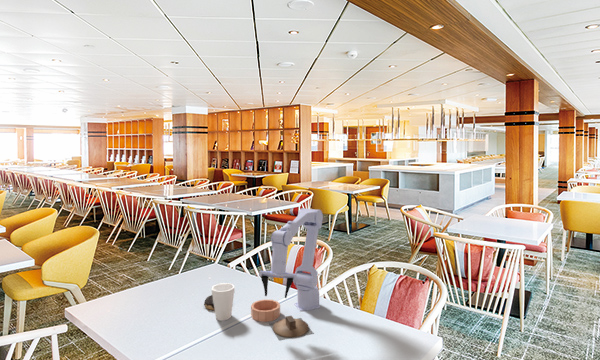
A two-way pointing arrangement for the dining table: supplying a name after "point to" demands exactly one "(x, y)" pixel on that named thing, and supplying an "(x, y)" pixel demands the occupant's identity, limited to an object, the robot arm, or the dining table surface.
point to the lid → (290, 327)
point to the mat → (290, 337)
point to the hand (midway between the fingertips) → (275, 296)
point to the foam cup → (223, 300)
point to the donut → (209, 303)
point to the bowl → (265, 310)
